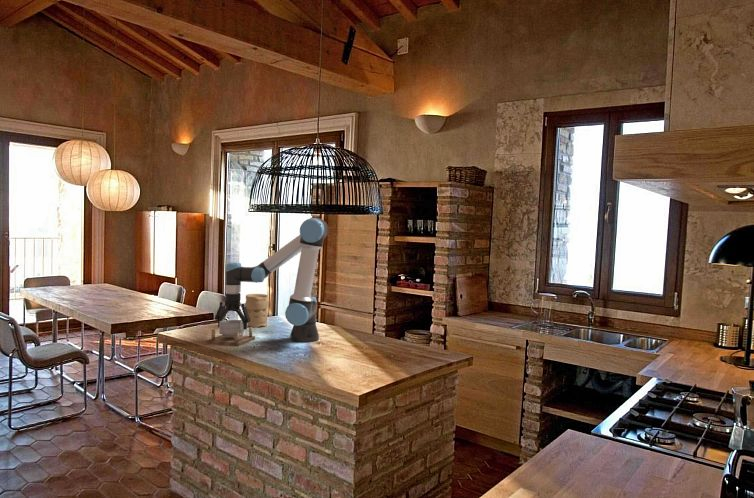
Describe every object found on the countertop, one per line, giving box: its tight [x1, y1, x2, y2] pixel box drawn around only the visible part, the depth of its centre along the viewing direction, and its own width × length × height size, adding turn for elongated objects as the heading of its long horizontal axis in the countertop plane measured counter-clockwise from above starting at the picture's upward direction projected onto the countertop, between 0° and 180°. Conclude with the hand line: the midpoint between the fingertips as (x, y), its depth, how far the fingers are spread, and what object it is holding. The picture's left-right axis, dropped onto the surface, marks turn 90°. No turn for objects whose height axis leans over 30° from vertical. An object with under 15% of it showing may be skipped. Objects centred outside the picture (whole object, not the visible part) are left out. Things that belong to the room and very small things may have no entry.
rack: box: [207, 326, 256, 347], centre depth 283 cm, size 17×17×6 cm
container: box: [245, 293, 269, 329], centre depth 324 cm, size 13×13×18 cm
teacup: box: [220, 319, 249, 337], centre depth 283 cm, size 14×11×8 cm
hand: (232, 334), depth 283 cm, fingers closed on teacup, 12 cm apart
